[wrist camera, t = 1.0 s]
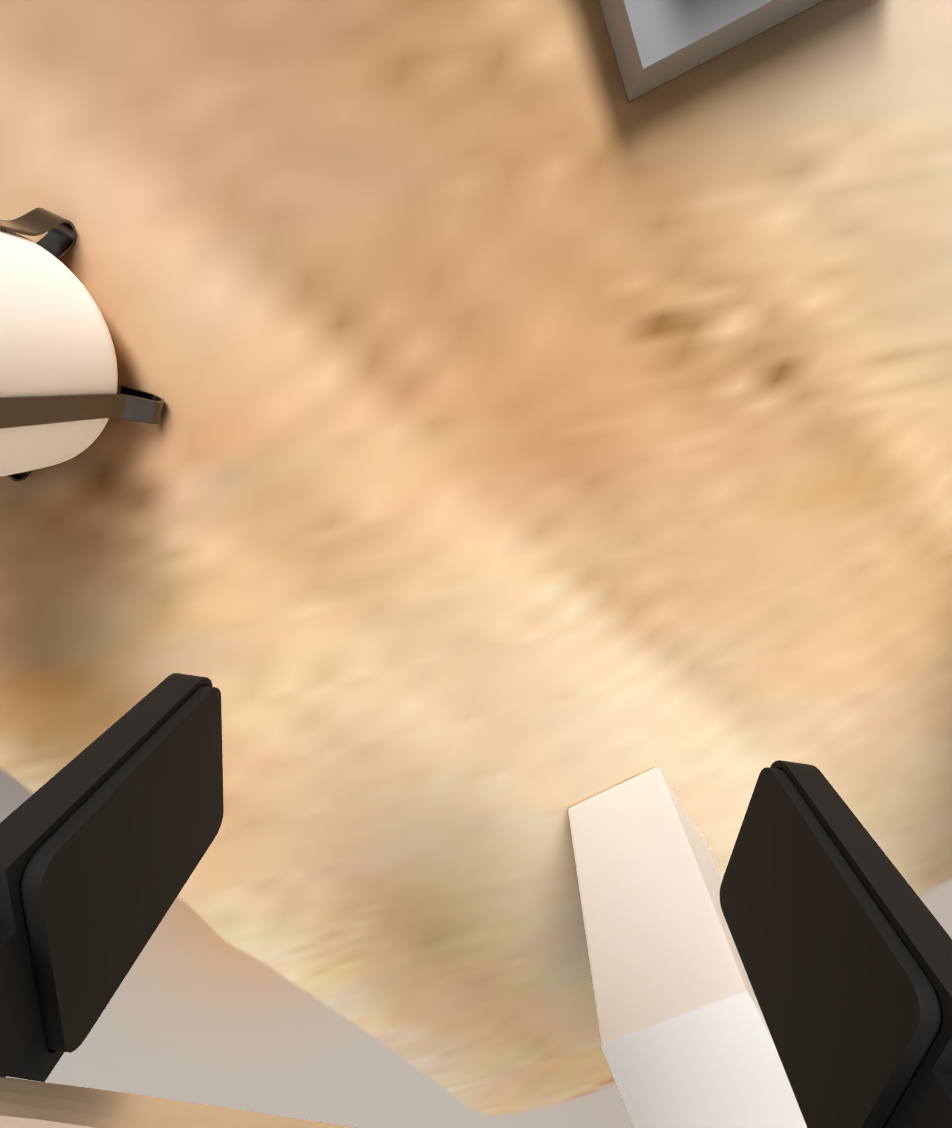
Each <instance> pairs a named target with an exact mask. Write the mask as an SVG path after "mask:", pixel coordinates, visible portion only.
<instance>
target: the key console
mask: <svg viewBox="0 0 952 1128" xmlns="http://www.w3.org/2000/svg"><path fill="white" fill-rule="evenodd" d="M822 1H824V0H599V3H600V6H601V10H602V13H603V17H604V20H605V23H606V27H607V30H608V34H609V37H610V40H611V44H612V47H613V51H614V54H615V57H616V61H617V64H618V68H619V71H620V75H621V78H622V81H623V85H624V88H625V92H626V95H627V98H628V102H629V101H631V100H633V99H635V98H637V97H639V96H641V95H643V94H645V93H647V92H649V91H650V90H652V89H654V88H656V87H658V86H660V85H662V84H664V83H666V82H668V81H670V80H672V79H674V78H675V77H677V76H679V75H681V74H683V73H685V72H687V71H689V70H691V69H693V68H695V67H697V66H699V65H700V64H702V63H704V62H706V61H708V60H710V59H712V58H714V57H716V56H718V55H720V54H722V53H724V52H725V51H727V50H729V49H731V48H733V47H735V46H737V45H739V44H741V43H743V42H745V41H747V40H749V39H750V38H752V37H754V36H756V35H758V34H760V33H762V32H764V31H766V30H768V29H770V28H772V27H774V26H776V25H777V24H779V23H781V22H783V21H785V20H787V19H789V18H791V17H793V16H795V15H797V14H799V13H801V12H802V11H804V10H806V9H808V8H810V7H812V6H814V5H816V4H818V3H820V2H822Z"/></svg>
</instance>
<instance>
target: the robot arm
mask: <svg viewBox="0 0 952 1128" xmlns="http://www.w3.org/2000/svg"><path fill="white" fill-rule="evenodd" d="M222 818H223V768H222V723H221V693H220V690H219V689H218V688H215V687H212V683H211V680H210V679H208V678H206V677H199V676H192V675H186V674H179V673H174V674H171V675H170V676H168V677H167V678H166V679H165V680H164V681H163V682H161V683H160V684H159V685H158V686H157V687H156V688H155V689H153V690H152V691H151V692H150V693H149V694H148V695H147V696H145V697H144V698H143V699H142V700H141V701H140V702H139V703H137V704H136V705H135V706H134V707H133V708H132V709H131V710H129V711H128V712H127V713H126V714H125V715H124V716H122V717H121V718H120V719H119V720H118V721H117V722H116V723H114V724H113V725H112V726H111V727H110V728H109V729H108V730H106V731H105V732H104V733H103V734H102V735H101V736H100V737H98V738H97V739H96V740H95V741H94V742H93V743H92V744H90V745H89V746H88V747H87V748H86V749H85V750H84V751H82V752H81V753H80V754H79V755H78V756H77V757H75V758H74V759H73V760H72V761H71V762H70V763H69V764H67V765H66V766H65V767H64V768H63V769H62V770H61V771H59V772H58V773H57V774H56V775H55V776H54V777H53V778H51V779H50V780H49V781H48V782H47V783H46V784H45V785H43V786H42V787H41V788H40V789H39V790H38V791H37V792H35V793H34V794H33V795H32V796H31V797H30V798H29V799H28V800H26V801H25V802H24V803H23V804H22V805H20V806H19V807H18V808H17V809H16V810H15V811H14V812H12V813H11V814H10V815H9V816H8V817H7V818H6V819H4V820H3V821H2V822H1V823H0V1128H355V1127H349V1126H342V1125H335V1124H329V1123H322V1122H315V1121H309V1120H301V1119H296V1118H289V1117H283V1116H275V1115H269V1114H263V1113H256V1112H249V1111H243V1110H236V1109H229V1108H223V1107H216V1106H209V1105H203V1104H196V1103H189V1102H183V1101H176V1100H169V1099H163V1098H157V1097H150V1096H143V1095H136V1094H130V1093H122V1092H115V1091H107V1090H99V1089H91V1088H84V1087H76V1086H68V1085H60V1084H52V1083H45V1080H46V1079H47V1077H48V1076H49V1074H50V1073H51V1071H52V1070H53V1068H54V1067H55V1065H56V1064H57V1062H58V1061H59V1059H60V1058H61V1056H62V1055H63V1053H64V1052H70V1053H71V1052H72V1051H74V1050H76V1049H77V1048H78V1047H79V1046H80V1045H81V1044H82V1042H83V1041H84V1039H85V1038H86V1036H87V1035H88V1034H89V1032H90V1030H91V1029H92V1027H93V1026H94V1024H95V1023H96V1021H97V1020H98V1018H99V1017H100V1015H101V1013H102V1012H103V1010H104V1009H105V1007H106V1006H107V1004H108V1003H109V1001H110V999H111V998H112V996H113V995H114V993H115V992H116V990H117V989H118V987H119V986H120V984H121V982H122V981H123V979H124V978H125V976H126V975H127V973H128V972H129V970H130V968H131V967H132V965H133V964H134V962H135V961H136V959H137V957H138V956H139V954H140V953H141V951H142V950H143V948H144V947H145V945H146V944H147V942H148V940H149V939H150V937H151V936H152V934H153V933H154V931H155V930H156V928H157V927H158V925H159V923H160V922H161V920H162V919H163V917H164V916H165V914H166V912H167V911H168V909H169V908H170V906H171V905H172V903H173V902H174V900H175V899H176V897H177V895H178V894H179V892H180V891H181V889H182V888H183V886H184V885H185V883H186V882H187V880H188V878H189V877H190V875H191V874H192V872H193V871H194V869H195V868H196V866H197V864H198V863H199V861H200V860H201V858H202V857H203V855H204V854H205V852H206V850H207V849H208V847H209V846H210V844H211V843H212V841H213V840H214V838H215V836H216V835H217V833H218V831H219V828H220V826H221V822H222ZM719 896H720V905H721V909H722V912H723V915H724V918H725V920H726V923H727V925H728V928H729V930H730V933H731V935H732V938H733V940H734V943H735V945H736V948H737V951H738V953H739V956H740V958H741V961H742V963H743V966H744V968H745V971H746V973H747V976H748V978H749V981H750V984H751V986H752V989H753V991H754V994H755V996H756V999H757V1001H758V1004H759V1006H760V1009H761V1011H762V1014H763V1017H764V1019H765V1022H766V1024H767V1027H768V1029H769V1032H770V1034H771V1037H772V1039H773V1042H774V1045H775V1047H776V1050H777V1052H778V1055H779V1057H780V1060H781V1062H782V1065H783V1067H784V1070H785V1072H786V1075H787V1078H788V1080H789V1083H790V1085H791V1088H792V1090H793V1093H794V1095H795V1098H796V1100H797V1103H798V1105H799V1108H800V1111H801V1113H802V1116H803V1118H804V1121H805V1123H806V1126H807V1128H952V939H951V938H950V937H949V935H948V934H947V933H946V931H945V930H944V929H943V928H942V926H941V925H940V924H939V923H938V921H937V920H936V919H935V917H934V916H933V915H932V914H931V912H930V911H929V910H928V909H927V907H926V906H925V905H924V903H923V902H922V901H921V899H920V898H919V897H918V896H917V894H916V893H915V892H914V891H913V889H912V888H911V887H910V885H909V884H908V883H907V882H906V880H905V879H904V878H903V876H902V875H901V874H900V873H899V871H898V870H897V869H896V868H895V866H894V865H893V864H892V862H891V861H890V860H889V859H888V857H887V856H886V855H885V853H884V852H883V851H882V850H881V848H880V847H879V846H878V844H877V843H876V842H875V841H874V839H873V838H872V837H871V836H870V834H869V833H868V832H867V830H866V829H865V828H864V827H863V825H862V824H861V823H860V821H859V820H858V819H857V818H856V816H855V815H854V814H853V813H852V811H851V810H850V809H849V807H848V806H847V805H846V804H845V802H844V801H843V800H842V798H841V797H840V796H839V795H838V793H837V792H836V791H835V790H834V788H833V787H832V786H831V784H830V783H829V782H828V781H827V779H826V778H825V777H824V775H823V774H822V773H821V772H820V770H818V769H817V768H816V767H815V766H812V765H808V764H801V763H794V762H787V761H780V760H779V761H775V762H774V763H773V764H772V765H771V767H770V768H764V769H763V770H762V771H761V773H760V775H759V777H758V780H757V783H756V786H755V789H754V792H753V794H752V797H751V800H750V803H749V806H748V809H747V812H746V814H745V817H744V820H743V823H742V826H741V829H740V832H739V834H738V837H737V840H736V843H735V846H734V849H733V851H732V854H731V857H730V860H729V863H728V866H727V869H726V871H725V874H724V877H723V880H722V883H721V886H720V894H719ZM6 1076H9V1077H16V1078H22V1079H28V1080H21V1079H13V1078H6ZM29 1080H34V1081H29ZM37 1081H41V1082H37Z"/></svg>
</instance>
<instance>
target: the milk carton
mask: <svg viewBox="0 0 952 1128" xmlns="http://www.w3.org/2000/svg"><path fill="white" fill-rule="evenodd" d="M568 815H569V822H570V829H571V836H572V843H573V850H574V857H575V864H576V871H577V878H578V885H579V892H580V899H581V906H582V913H583V920H584V927H585V934H586V941H587V948H588V956H589V963H590V970H591V977H592V984H593V991H594V998H595V1005H596V1012H597V1019H598V1026H599V1033H600V1040H601V1048H602V1051H603V1053H604V1056H605V1058H606V1061H607V1063H608V1066H609V1068H610V1071H611V1073H612V1076H613V1078H614V1081H615V1083H616V1086H617V1088H618V1091H619V1093H620V1096H621V1098H622V1101H623V1103H624V1105H625V1108H626V1110H627V1113H628V1116H629V1118H630V1121H631V1123H632V1125H633V1128H807V1126H806V1123H805V1121H804V1118H803V1116H802V1113H801V1111H800V1108H799V1105H798V1103H797V1100H796V1098H795V1095H794V1093H793V1090H792V1088H791V1085H790V1083H789V1080H788V1078H787V1075H786V1072H785V1070H784V1067H783V1065H782V1062H781V1060H780V1057H779V1055H778V1052H777V1050H776V1047H775V1045H774V1042H773V1039H772V1037H771V1034H770V1032H769V1029H768V1027H767V1024H766V1022H765V1019H764V1017H763V1014H762V1011H761V1009H760V1006H759V1004H758V1001H757V999H756V996H755V994H754V991H753V989H752V986H751V984H750V981H749V978H748V976H747V973H746V971H745V968H744V966H743V963H742V961H741V958H740V956H739V953H738V951H737V948H736V945H735V943H734V940H733V938H732V935H731V933H730V930H729V928H728V925H727V923H726V920H725V918H724V915H723V912H722V909H721V905H720V896H719V894H720V886H721V883H722V880H723V878H722V876H721V873H720V871H719V869H718V866H717V864H716V862H715V859H714V857H713V855H712V852H711V850H710V848H709V845H708V843H707V841H706V839H705V837H704V835H703V834H702V832H701V831H700V829H699V828H698V826H697V825H696V823H695V822H694V820H693V819H692V817H691V815H690V814H689V812H688V811H687V809H686V808H685V806H684V805H683V803H682V802H681V800H680V799H679V797H678V796H677V794H676V792H675V791H674V789H673V788H672V786H671V785H670V783H669V782H668V780H667V779H666V777H665V776H664V774H663V773H662V771H661V769H660V768H659V767H655V768H653V769H650V770H648V771H646V772H644V773H642V774H640V775H638V776H635V777H633V778H631V779H629V780H627V781H625V782H623V783H621V784H619V785H616V786H614V787H612V788H610V789H608V790H606V791H604V792H602V793H600V794H597V795H595V796H593V797H591V798H589V799H587V800H585V801H583V802H581V803H578V804H576V805H574V806H572V807H570V808H569V810H568Z"/></svg>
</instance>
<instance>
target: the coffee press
mask: <svg viewBox="0 0 952 1128" xmlns="http://www.w3.org/2000/svg"><path fill="white" fill-rule="evenodd" d="M47 231H48V233H47V234H46V235H45V236H44V237H43V238H42V239H41V240H40V241H38V242H37V243H34V242H33V241H31V240H29V239H27V238H25V237H23V236H21V235H19V234H16V233H20V234H24V235H30V236H37V235H41V234H43V233H45V232H47ZM14 232H16V233H14ZM75 240H76V230H75V227H74V225H73V224H72V223H71V222H70V221H69V220H66V219H64V218H62V217H60V216H58V215H56V214H54V213H52V212H50V211H48V210H45V209H43V208H36V209H34V210H32V211H30V212H29V213H27V214H25V215H23V216H21V217H19V218H17V219H14V220H9V221H6V220H0V477H2V476H5V477H7V478H9V479H12V480H14V481H22V480H24V479H25V478H26V477H27V476H28V475H29V474H30V472H31V470H36V469H40V468H45V467H49V466H53V465H56V464H59V463H62V462H65V461H67V460H69V459H71V458H73V457H75V456H77V455H78V454H80V453H81V452H83V451H84V450H85V449H86V448H88V447H89V446H90V445H91V444H92V443H93V442H94V441H95V440H96V439H97V437H98V436H99V435H100V433H101V432H102V431H103V429H104V427H105V426H106V424H107V422H108V420H109V418H120V419H127V420H133V421H138V422H144V423H149V424H158V423H159V419H160V415H161V412H162V408H163V404H164V400H163V399H162V398H160V397H158V396H156V395H154V394H151V393H148V392H145V391H141V390H137V389H133V388H130V387H126V386H123V385H120V384H117V383H118V371H117V360H116V354H115V349H114V345H113V341H112V338H111V335H110V332H109V329H108V327H107V324H106V322H105V320H104V318H103V316H102V314H101V312H100V310H99V308H98V306H97V305H96V303H95V301H94V300H93V298H92V297H91V295H90V294H89V292H88V291H87V290H86V288H85V287H84V286H83V284H82V283H81V282H80V281H79V280H78V278H77V277H76V276H75V275H74V274H73V273H72V272H71V271H70V270H69V269H68V268H67V267H66V266H65V265H64V264H63V263H62V262H61V261H59V259H60V258H61V257H62V256H63V255H64V254H66V253H67V252H68V251H69V250H70V249H71V248H72V247H73V245H74V243H75Z"/></svg>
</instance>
